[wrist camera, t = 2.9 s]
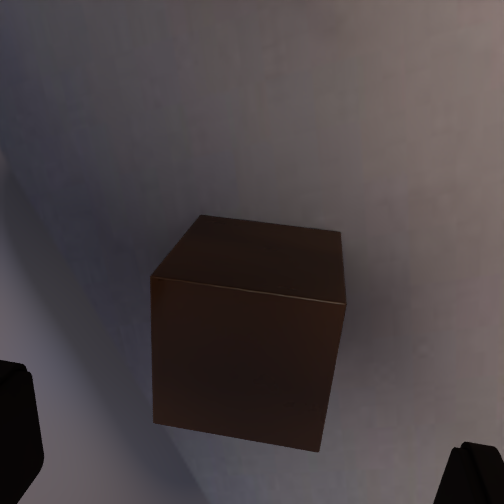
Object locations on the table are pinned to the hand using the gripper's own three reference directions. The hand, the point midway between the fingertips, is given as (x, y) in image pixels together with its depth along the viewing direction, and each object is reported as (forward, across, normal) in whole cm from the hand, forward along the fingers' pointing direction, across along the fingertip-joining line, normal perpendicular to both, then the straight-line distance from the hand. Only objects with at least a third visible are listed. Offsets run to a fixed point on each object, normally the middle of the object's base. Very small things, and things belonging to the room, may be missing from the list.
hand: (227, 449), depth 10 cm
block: (+7, 0, 0) cm, 8 cm away
